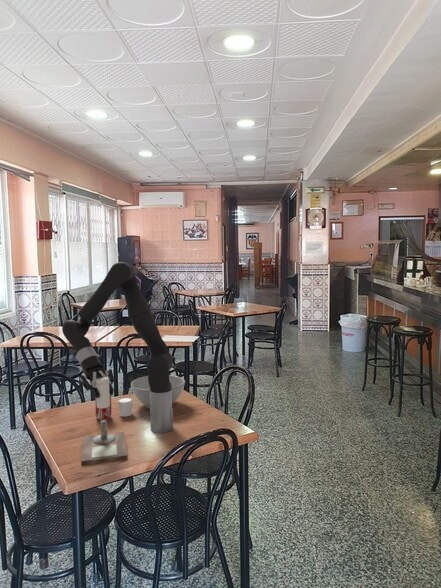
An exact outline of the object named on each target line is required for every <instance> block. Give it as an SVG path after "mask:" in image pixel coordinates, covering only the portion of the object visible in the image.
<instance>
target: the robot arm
mask: <svg viewBox="0 0 441 588" xmlns="http://www.w3.org/2000/svg"><path fill="white" fill-rule="evenodd" d="M118 288H120V289H121V291H122V294H123V295H124V299H125V303H126V304H125V305H126V309H127V314H128V317H129V319H130V322H131V324H132V326H133V328H134V330H135V332H136V333H137V334H138V336H139V337H140V338H141V339H142V340H143V342H144V343H145V344H146V347H148V350H149V353H150V356H151V357H150V359H148V361H147V376H148V383H149V386H150V409H149V411H150V431H151V432H153V433H159V434H162V433H167V432H170V431H173V430H174V408H173V405H172V404H173V403H172V385H171V383H170V381H169V375H170V370H171V369H172V367H173V365H174V361H173V357H172V354H171V352H170V351H169V349H168V348H167V346H166V344H165V342H164V340H163V338H162V335H161V332H160V330H159V328H158V325H157V323H156V321H155V318H154V315H153V314H152V310H151V308H150V307H149V305H148V303H147V301H146V299H145V297H144V295H143V293H142V291H141V289H140V285H139V283H138V279H137V276H136V274H135V270H134V267H133V266H132V265H130V264H129V263H127V262H124V261H118V262H115V263H114V264H113V265H111V267H110V269H109V270H108V273H106V276H105V277H104V279H103V280H102V282H101V284H100V285H99V286H98V288H97V289H96V291H94V293H92V295H91V296H90V297H89V298H88V300H87V301H86V302H85V303H84V304H83V306H82V307H81V308H80V309H79V311H78V313H77V314H78V316H79V318H80V319H79V320H78V321H77V320H74V319H68V320H66V321H64V323H63V324H62V327H61V328H62V334H63V336H64V337H65V339H66V340H67V342H68V343H69V344H70V345H71V346H72V348H73V350H74V352H75V354H76V357H77V360H78V363H79V365H80V367H81V370H82V372H83V373H84V375H83V374H82V375H81V376H80V377H79V379H78V380H79V382H80V383H81V385H82V386H83V388H84V389H85V391H91V392H92V394H93V397H94V398H95V397H96V398H99V397H100V394H99V392H98V389H97V388H96V379H97V378H100V377H108V378H109V394H110V395H111V396H112V395H113V394H114V391H115V389H114V387H113V384H114V383H115V377H114V374H113V370H112V369H111V368H110V369H108V370H105V369H104V368H103V365H102V363H101V360H100V359H99V356H98V354H97V352H96V350H95V349H94V347H93V345H92V342H91V341H90V339H89V338H88V337H86V335H87V333H88V331H89V330H90V327H91V326H92V323H93V321H94V320H95V319H96V317H97V316H99V314H100V313H101V311H102V310H103V309H104V307H105V306H106V304H107V302H108V300H109V299H110V297H111V296H112V295H113V294H114V293H115V291H116V290H118Z"/></svg>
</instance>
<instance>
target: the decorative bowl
mask: <svg viewBox="0 0 441 588" xmlns="http://www.w3.org/2000/svg"><path fill="white" fill-rule="evenodd" d="M169 381H170V383H171V385H172V404H173V403H175V402H176V401H177V400H178V398H180V396H181V394H182V392H183V390H184V388H185V384H186V380H185V379H184V378H183V377H181V376H178V375H177V376H176V375H172V374H171V375H170V374H169ZM130 387H131V391H132V393H133V394H134V397H135V398H136V399H137V400H138V401H139V402H140V403H141V404H143V405H144V406H145V408H147V409H148V410H150V386H149V383H148V375H145V376H142V377H137V378H136V379H134V380H132V381H131V382H130Z"/></svg>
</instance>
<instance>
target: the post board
mask: <svg viewBox="0 0 441 588" xmlns="http://www.w3.org/2000/svg"><path fill="white" fill-rule="evenodd" d="M82 442H83V443H82V450H81V451H82V452H81V461H80V463H81V466H85V465H86V466H87V465H94V464H101V463H109V462H115V461H116V462H117V461H124V460H128V453H127V445H126V438H125V432H124V431H120V432H113V433H111V432H110V433H108V422H107V420H100V434H93V435H86V436H83V440H82Z"/></svg>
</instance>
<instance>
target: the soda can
mask: <svg viewBox="0 0 441 588" xmlns="http://www.w3.org/2000/svg"><path fill="white" fill-rule="evenodd" d="M109 395H110V394H109ZM94 402H95V405H94V406H95V418H96V419H98V420H99V421H103V420H106V421H107V420H109V419H110V418H111V417H112V395H110V406H109V407H107V408H101V409H100V408H97V403H96V397H94Z"/></svg>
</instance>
